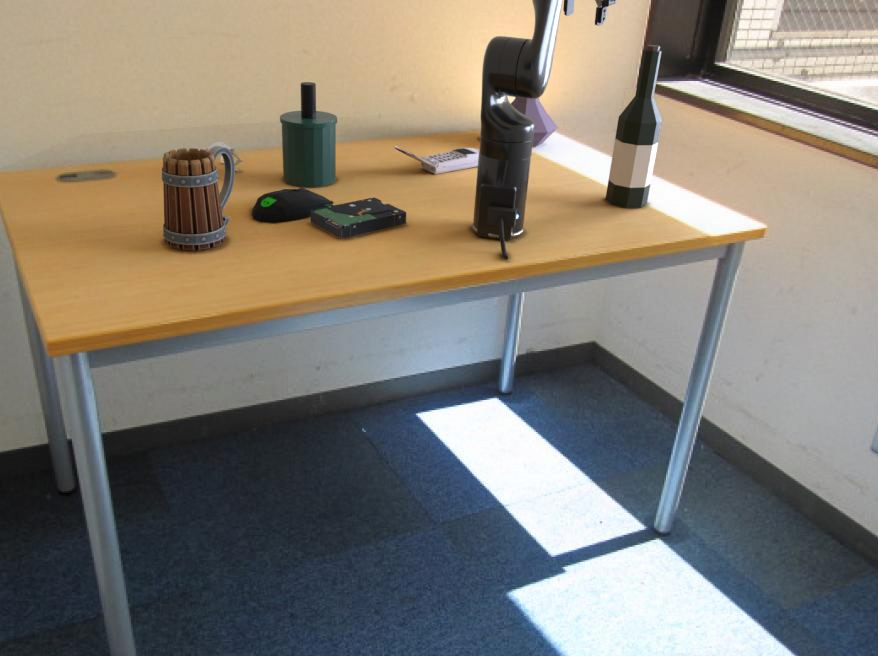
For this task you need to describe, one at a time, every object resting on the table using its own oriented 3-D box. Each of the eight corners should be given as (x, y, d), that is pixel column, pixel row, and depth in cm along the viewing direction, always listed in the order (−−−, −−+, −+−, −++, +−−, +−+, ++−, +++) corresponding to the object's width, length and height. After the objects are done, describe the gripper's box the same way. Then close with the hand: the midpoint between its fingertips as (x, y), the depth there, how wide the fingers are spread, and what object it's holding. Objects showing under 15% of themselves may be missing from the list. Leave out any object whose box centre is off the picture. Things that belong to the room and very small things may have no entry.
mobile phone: (392, 145, 189) (481, 131, 202) (391, 173, 192) (479, 157, 205) (408, 153, 185) (498, 138, 198) (407, 180, 188) (496, 164, 201)
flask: (486, 148, 213) (494, 60, 203) (491, 132, 227) (499, 49, 217) (555, 153, 211) (566, 65, 201) (556, 137, 225) (566, 53, 215)
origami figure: (246, 176, 187) (245, 152, 184) (206, 178, 184) (204, 154, 182) (236, 160, 196) (235, 138, 194) (198, 162, 194) (196, 140, 191)
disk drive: (373, 210, 171) (309, 223, 163) (373, 196, 169) (309, 209, 161) (407, 226, 164) (341, 240, 156) (407, 211, 163) (342, 225, 154)
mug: (197, 257, 147) (189, 167, 139) (150, 243, 151) (141, 155, 144) (257, 231, 158) (254, 147, 150) (213, 219, 163) (207, 137, 155)
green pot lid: (326, 133, 174) (326, 91, 170) (271, 128, 177) (269, 86, 173) (344, 121, 184) (344, 80, 180) (292, 115, 186) (291, 75, 182)
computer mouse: (235, 212, 167) (233, 191, 165) (300, 194, 177) (300, 174, 175) (274, 227, 160) (273, 206, 158) (339, 208, 171) (340, 187, 169)
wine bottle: (647, 210, 177) (677, 50, 161) (605, 206, 178) (631, 47, 163) (645, 197, 184) (674, 43, 168) (605, 193, 185) (630, 40, 170)
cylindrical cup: (325, 189, 181) (325, 130, 174) (275, 183, 183) (273, 124, 177) (342, 175, 190) (342, 118, 183) (294, 170, 192) (293, 113, 186)
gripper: (552, -65, 182) (547, 16, 193) (606, -52, 174) (598, 32, 185) (576, -73, 185) (570, 7, 196) (631, -61, 177) (621, 23, 188)
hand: (583, 19), depth 190 cm, fingers open, 8 cm apart
